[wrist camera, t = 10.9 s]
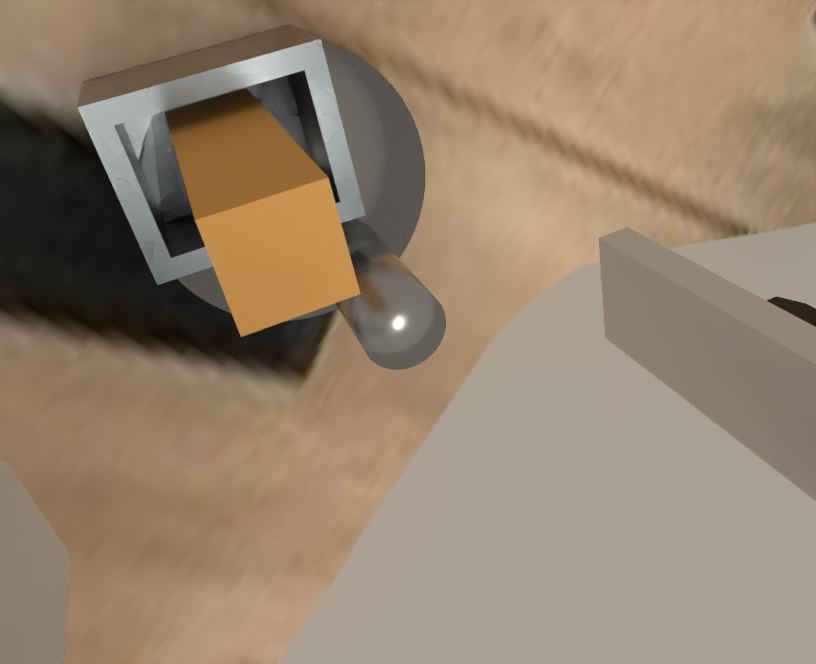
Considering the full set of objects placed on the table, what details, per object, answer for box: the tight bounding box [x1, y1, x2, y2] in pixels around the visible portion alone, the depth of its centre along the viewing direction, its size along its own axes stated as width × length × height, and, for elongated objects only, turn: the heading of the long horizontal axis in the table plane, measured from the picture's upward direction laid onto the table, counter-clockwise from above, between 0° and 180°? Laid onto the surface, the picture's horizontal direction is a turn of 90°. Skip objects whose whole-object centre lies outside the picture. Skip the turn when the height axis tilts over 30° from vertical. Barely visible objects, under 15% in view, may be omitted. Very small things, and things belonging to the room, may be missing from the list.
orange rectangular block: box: [164, 88, 360, 337], centre depth 28 cm, size 4×4×16 cm
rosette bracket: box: [78, 25, 446, 370], centre depth 34 cm, size 15×15×11 cm
